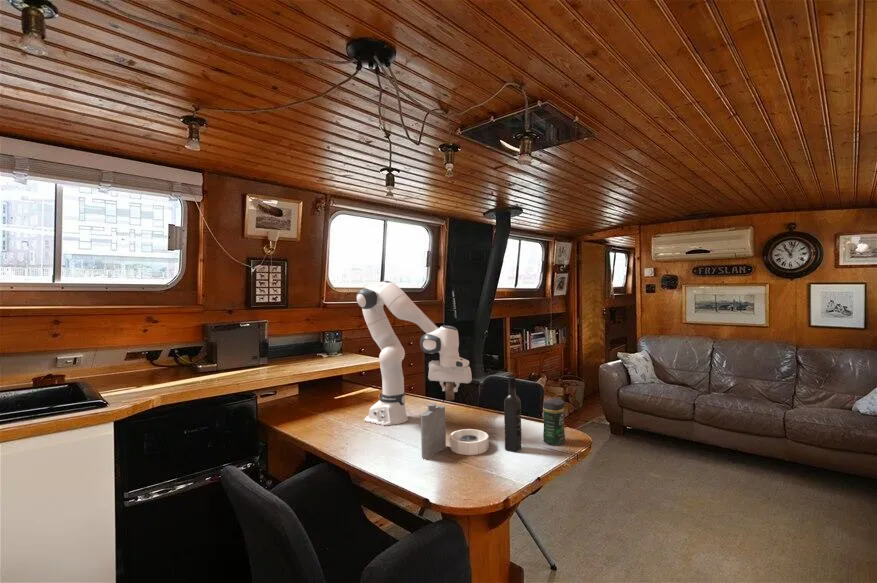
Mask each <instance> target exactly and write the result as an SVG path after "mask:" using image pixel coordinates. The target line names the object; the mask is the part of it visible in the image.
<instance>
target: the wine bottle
mask: <svg viewBox="0 0 877 583" xmlns="http://www.w3.org/2000/svg"><path fill="white" fill-rule="evenodd" d="M516 378H517V377H514V376H509V377H508V378H507V379H508V380H507V383H508V394H507V396H506V397H505V399H504V402H503V412H504V413H503V416H504V417H503V418H504V421H503V423H504V450H505V451H509V452H513V453H517V452H519V451H520V450H521V449H522V410H521V409H522V406H521V405H522V404H521V399H520V397H519V396H518V395H517V394H516V383H517V382H516Z"/></svg>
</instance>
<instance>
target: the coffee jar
mask: <svg viewBox="0 0 877 583" xmlns="http://www.w3.org/2000/svg"><path fill="white" fill-rule="evenodd" d="M542 410H543V437H542V440H543V442H544V443H545V444H547V445H554V446H559V445H561V444H563V443H564V442H565V441H566V432H565V401H564V400H563V399H562V398H558V397H553V398H550V399H547V400H545V401H543V405H542Z"/></svg>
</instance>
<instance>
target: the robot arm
mask: <svg viewBox="0 0 877 583" xmlns="http://www.w3.org/2000/svg"><path fill="white" fill-rule="evenodd" d="M355 300H356V303H357V305H358V307H359V308H361V310H362V315H363V318H364V321H365V323H366V326H367V328H368V331H369V333H370V335H371V338H372V340H373V341H374V342H375V343H376V345H377V347H378V348H379V349H380V353H379V354H378V355H379V356H378V361H379V366H380V368H379V369H380V374H381V380H382V381H381V382H382V383H381V384H382V386H381V387H382V389H381V390H382V392H381V393H379V395H377V398H379V400H378V401H377V402H376V403H374V404H373V405H371V407H370V408H369V410H368V414H367V415H366V416H365V417H364V420H363V421H364V422H365V421H366V422H365V423H370V422H371V424H375V423H376V425H379V424H381V425H380V426H384V425H386V426H392V425H398V424H402V423H403V424H404V423H405V422H407V421H408V420H409V418H408V415H407V410H406V394H405V393H406V392H405V383H404V382H405V381H404V380H405V377H404V374H403V366H402V363H403V360H404V359H405V356H406V352H405V349H404V347H403V345H402V344H401V341H400V340H399V338H398V336H397V335H396V334H395V331H394V329H393V328H392V327H393V326H392V325H391V323H390V320H389V318H388V317H387V314H386V312H385V309H384V305H385V307H386V308H387V309H388V311H389V312H390V313H392V315H393V316H394V317H396V319H398V320H402V321H406V322H411V323H413V324H415V325H417V326H418V327H419V328H420V330H422V331H423V332H424V333H425V334H423V335H422V336H421V337H420V340H419V346H420V348H421V350H422V351H423V352H424V353H425V354H431V355H432V354H435V353H438V354H439V360H431V361H429V362H428V376H427V378H428V380H429V381H430V382H431V381H433V382H434V381H435V382H439V385H440V386H441V388H442V389H441V391H442V392H446V385H445V384H444V383H445V382H454V388H453V392H454V393H457V392H458V389H459V387H460V384H470V383H471V382H472V380H473V379H472V378H473V377H472V375H473V374H472V370H471V369H472V368H471V367H470V361H469V360H468V359H466V358H463V357H461V356H460V353H459V346H460V340H459V338H460V337H459V331H458V328H456V327H455V326H452V325H446V324H445V325H441V326H440V327H439V326H437V325H436V323H434V321H433V320H432V319H431V318H430V317H428V315H427V314H426V313H424V311H423V310H422V309H420V308H419V307H418V305H416V303H414V302H413V300H412V299H410V297H409V296H408V294H406V293H405V291H404V290H403V289H401V287H399V286H398V285H397V284H395V283H394V282H392V281H390V280H382V281H381V282H380V281H379V282H376V283H372V284H370V285H368V286H366V287H363V288H361V289H359V290H358V291H357V292H356V294H355Z"/></svg>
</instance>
